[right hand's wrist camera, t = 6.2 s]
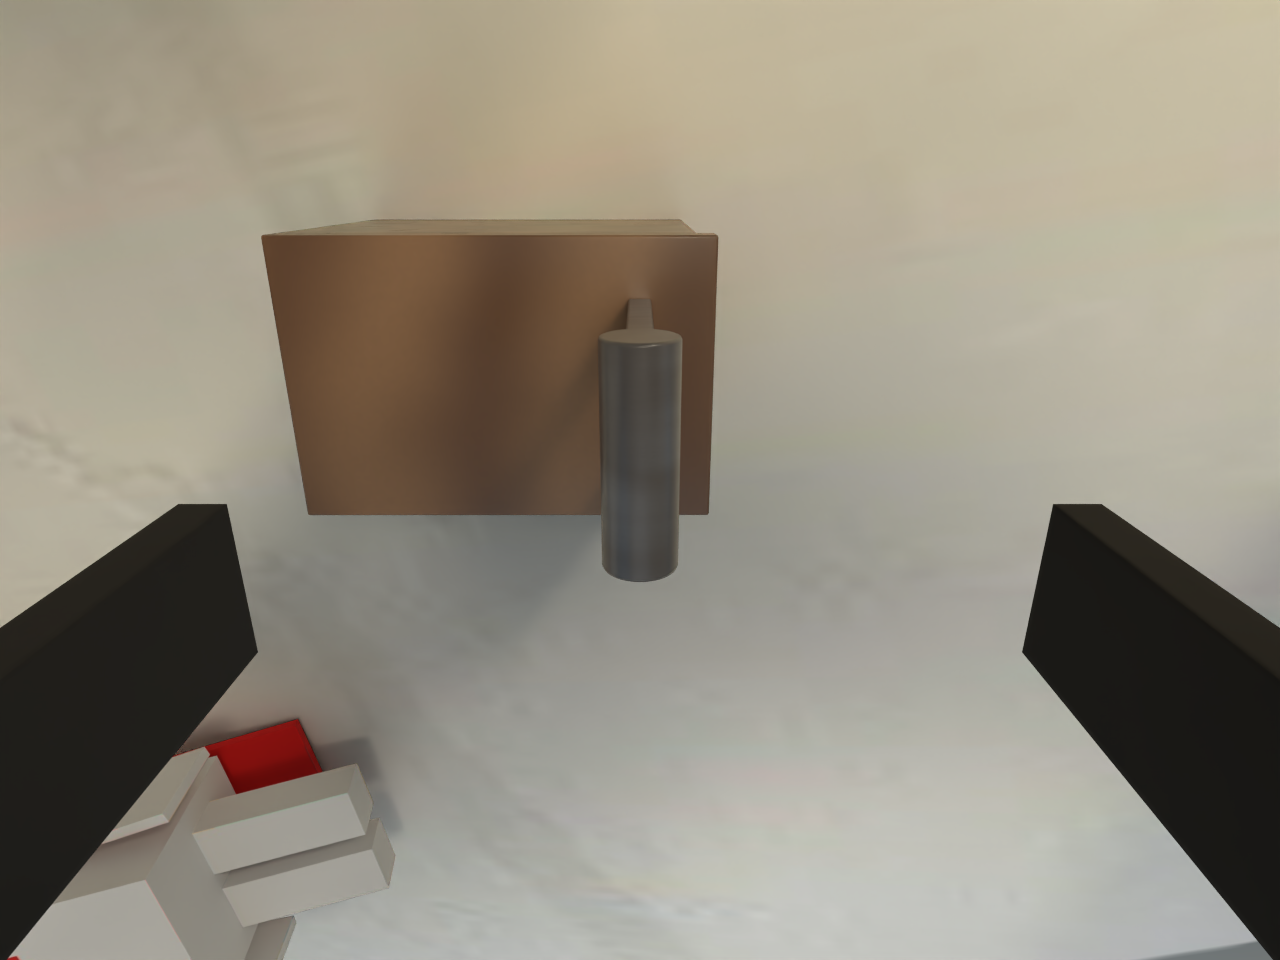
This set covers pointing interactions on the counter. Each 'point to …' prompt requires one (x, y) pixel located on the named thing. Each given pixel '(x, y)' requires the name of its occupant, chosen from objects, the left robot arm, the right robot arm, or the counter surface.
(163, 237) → the counter surface
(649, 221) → the brown hollow box
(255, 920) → the toy
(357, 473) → the lid
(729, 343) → the counter surface
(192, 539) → the right robot arm
